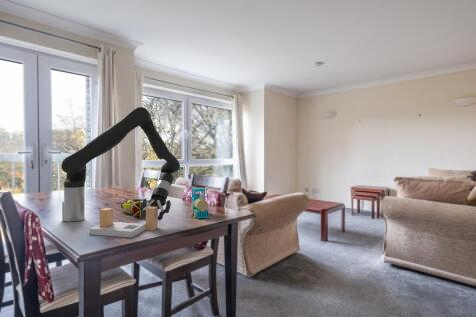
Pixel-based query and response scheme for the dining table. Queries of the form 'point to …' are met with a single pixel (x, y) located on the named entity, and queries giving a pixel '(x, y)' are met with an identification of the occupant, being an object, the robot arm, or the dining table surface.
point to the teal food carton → (199, 204)
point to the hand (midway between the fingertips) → (150, 219)
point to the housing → (118, 229)
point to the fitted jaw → (106, 217)
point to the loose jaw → (151, 218)
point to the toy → (133, 206)
